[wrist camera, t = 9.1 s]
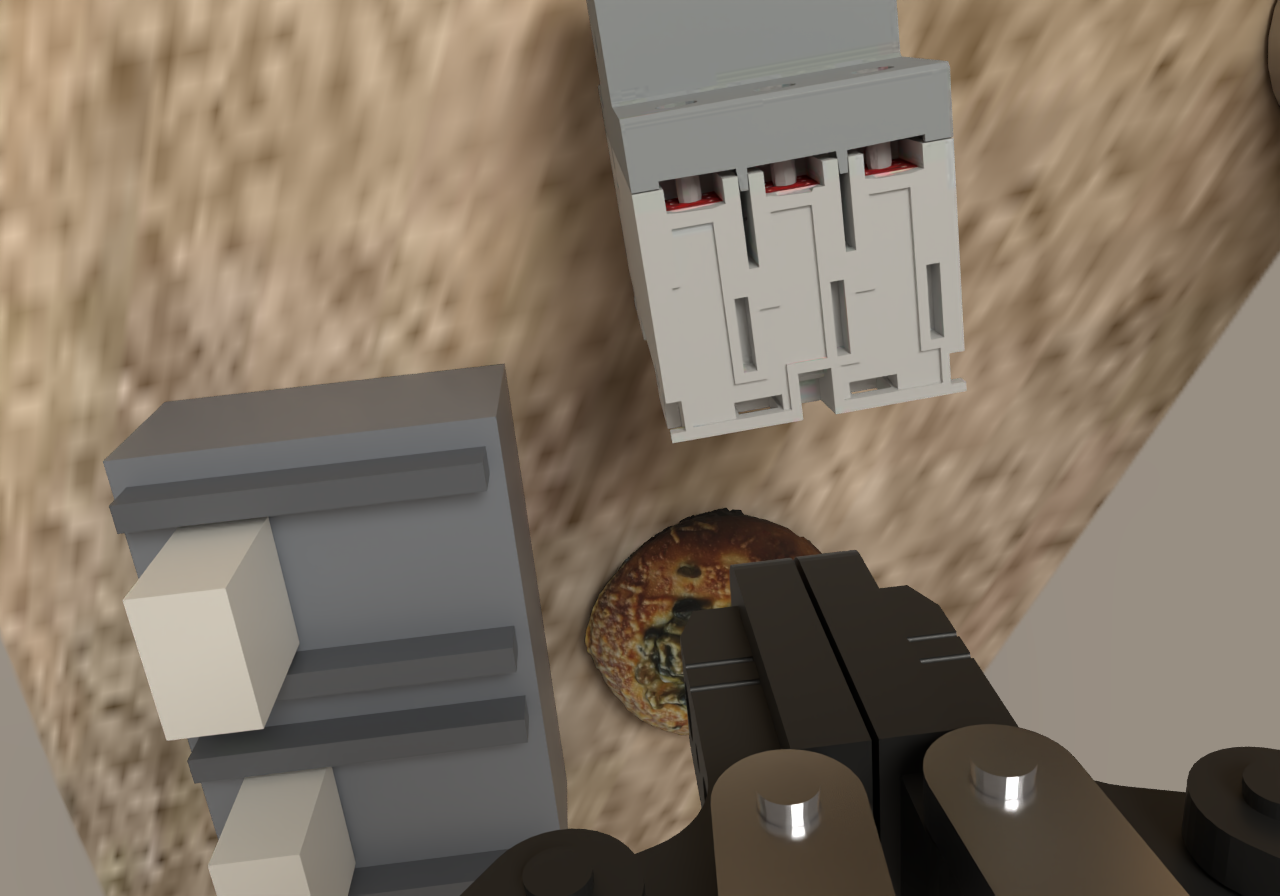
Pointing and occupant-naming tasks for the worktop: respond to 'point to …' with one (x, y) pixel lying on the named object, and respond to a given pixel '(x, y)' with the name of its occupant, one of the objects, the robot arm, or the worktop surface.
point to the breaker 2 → (285, 838)
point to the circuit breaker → (781, 205)
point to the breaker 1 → (214, 628)
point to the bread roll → (674, 605)
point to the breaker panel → (378, 608)
